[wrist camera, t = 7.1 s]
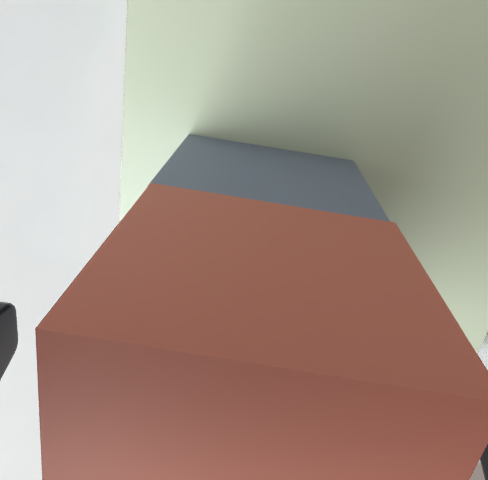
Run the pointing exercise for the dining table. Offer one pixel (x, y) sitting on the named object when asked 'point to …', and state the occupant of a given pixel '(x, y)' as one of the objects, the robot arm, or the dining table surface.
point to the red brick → (255, 352)
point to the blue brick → (270, 176)
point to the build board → (331, 108)
